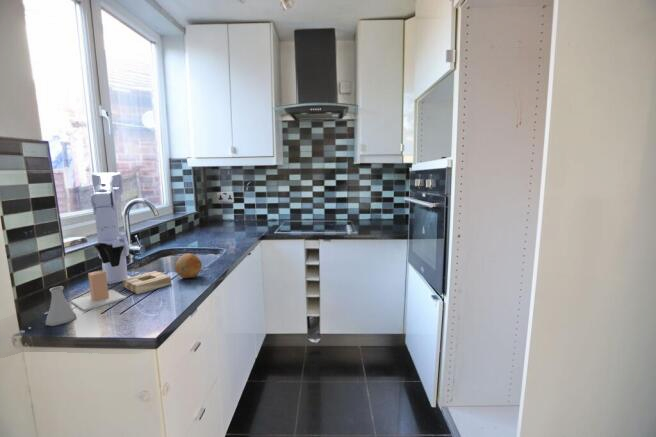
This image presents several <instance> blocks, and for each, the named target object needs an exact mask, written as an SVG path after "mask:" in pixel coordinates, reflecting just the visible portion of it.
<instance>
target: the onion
mask: <svg viewBox="0 0 656 437" xmlns="http://www.w3.org/2000/svg"><path fill="white" fill-rule="evenodd" d="M174 266H175V267H174V268H175V272H176V274H177V275H178V276H179V277H181V278H182V279H193V278H196V277H197V276H198V275H199V274H200V272H201V270H202V262H201V260H200V258H199V257H198V255H196V254H194V253H183V254H181V255H180V257H179V258H178V259H177V260H176V263H175V265H174Z"/></svg>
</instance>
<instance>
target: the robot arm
mask: <svg viewBox="0 0 656 437" xmlns="http://www.w3.org/2000/svg"><path fill="white" fill-rule="evenodd" d="M91 181H92V186H93V189H94V192H93V193H91V194H90V204H91V207H92V211H93V215H94V218H95V220H94V221H95V227H96V236H97V239H96V240H97V241H96V242H97V244H94V245H93V246H94V248H95V249H96V251H97V254H98V258H99V259H101V261H102V263H101V267H102V269H101V270H103V271H104V272H106V278H107V284H109V285H113V284H117V283H120V282H123V280H122V279H126V278H130V277H131V276H130V275H128V268H127V267H128V266H127V258H126V257H128V256H129V255H130V248H129V242H128V237H127V236H126V235H124V234H122V233H120V231H119V230H120V229H119V216H118V214H119V212H118V198H119V197H120V196H121V195H123V191H124V188H123V187H124V184H123V175H122V173H121V172H92V174H91Z"/></svg>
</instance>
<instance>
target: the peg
mask: <svg viewBox="0 0 656 437" xmlns="http://www.w3.org/2000/svg"><path fill="white" fill-rule="evenodd" d="M87 275H88V281H89V282H88V283H89V292H90V295H91V299H92V300H93V301H95V302H96V301H100V300H103V299H107V298H109V294H108V290H109V287H108V283H107V278H106V272H104V271H103V269H101V270H96V271H92V272H88V273H87Z"/></svg>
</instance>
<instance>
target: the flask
mask: <svg viewBox="0 0 656 437" xmlns="http://www.w3.org/2000/svg"><path fill="white" fill-rule="evenodd" d="M63 291H64V286H62V285H59V286H55V287H52V288H49V292H50V293H51V294H50V295H51V300H50V305H49V310H48V313H47V316H46V320H45V326H48V327H49V326H51V327H55V326H59V325H63V324H64V325H65V324H66V323H70V322H72V321H73V320H76V319H77V314H76V313H75V311H74V310H73V308H72V307H71V305H70V304H69V302H68V301H67V299H66V297H65V295H64V292H63Z"/></svg>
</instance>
